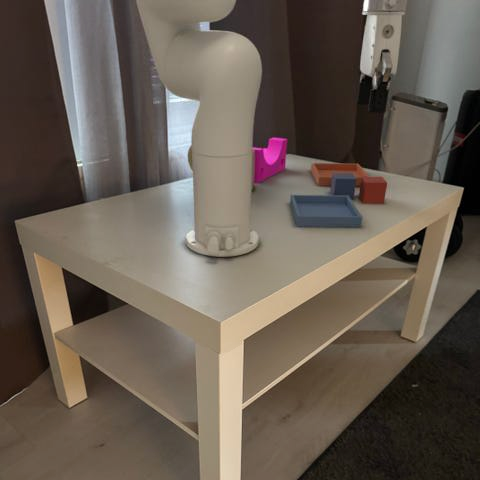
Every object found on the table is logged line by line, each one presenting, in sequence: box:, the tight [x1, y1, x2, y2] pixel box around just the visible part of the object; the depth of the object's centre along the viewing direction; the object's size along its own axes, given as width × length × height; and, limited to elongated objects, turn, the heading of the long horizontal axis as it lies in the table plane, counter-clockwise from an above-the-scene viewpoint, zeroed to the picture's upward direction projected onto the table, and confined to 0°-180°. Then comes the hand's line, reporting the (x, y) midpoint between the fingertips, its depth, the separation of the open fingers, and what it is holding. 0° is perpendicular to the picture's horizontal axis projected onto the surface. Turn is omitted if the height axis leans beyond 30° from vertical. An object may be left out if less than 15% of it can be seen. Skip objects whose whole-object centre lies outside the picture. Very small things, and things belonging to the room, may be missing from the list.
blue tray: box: [289, 194, 363, 228], centre depth 96 cm, size 13×12×2 cm
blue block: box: [329, 173, 357, 200], centre depth 107 cm, size 4×4×4 cm
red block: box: [358, 176, 388, 204], centre depth 104 cm, size 4×4×4 cm
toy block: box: [252, 137, 288, 184], centre depth 120 cm, size 15×6×8 cm, turn 150°
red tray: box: [310, 162, 370, 187], centre depth 120 cm, size 13×12×2 cm
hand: (370, 108), depth 96 cm, fingers open, 9 cm apart
